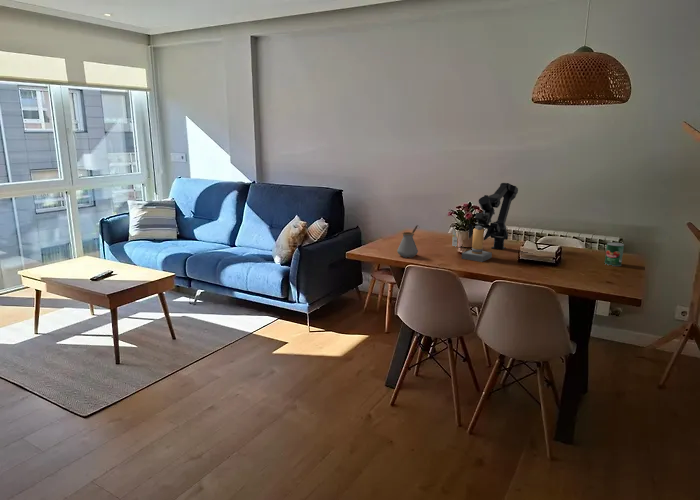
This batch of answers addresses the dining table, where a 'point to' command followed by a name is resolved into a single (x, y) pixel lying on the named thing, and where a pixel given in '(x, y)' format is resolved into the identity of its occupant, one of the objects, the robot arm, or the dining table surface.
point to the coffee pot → (408, 245)
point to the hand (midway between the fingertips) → (476, 238)
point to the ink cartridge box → (454, 239)
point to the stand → (477, 256)
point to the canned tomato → (614, 253)
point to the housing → (477, 240)
